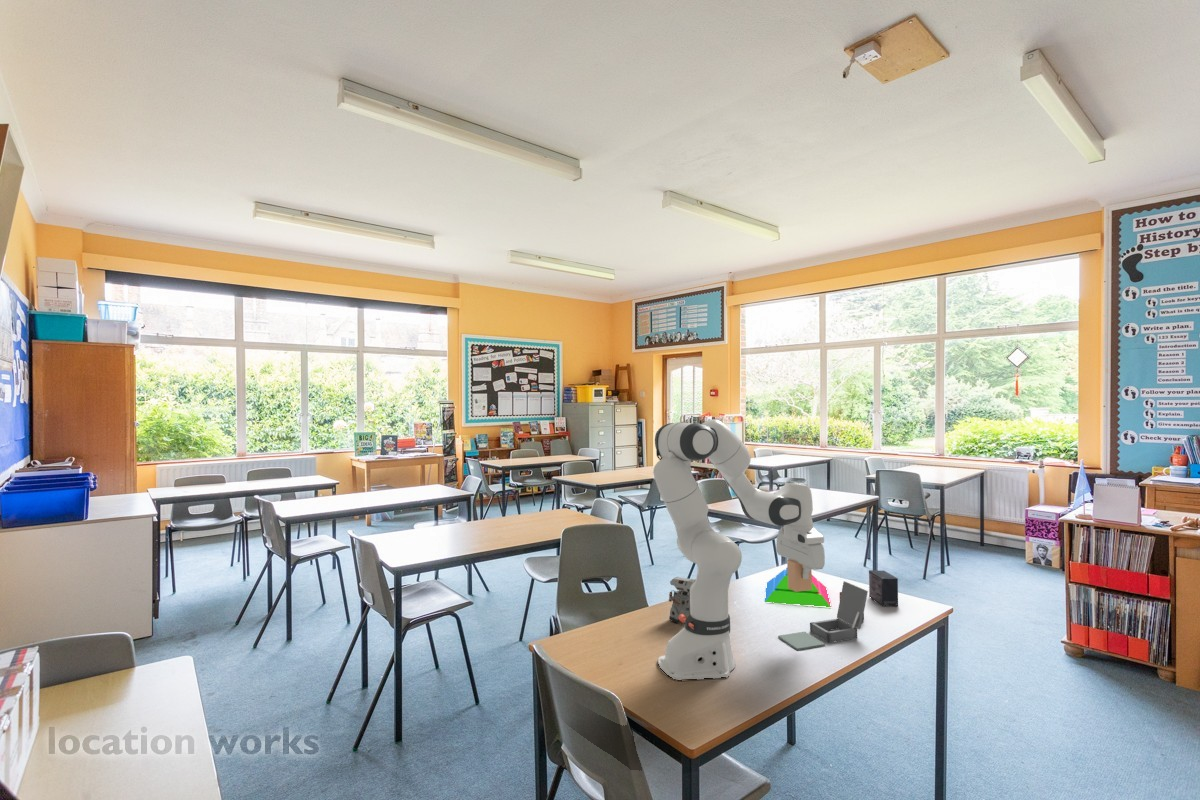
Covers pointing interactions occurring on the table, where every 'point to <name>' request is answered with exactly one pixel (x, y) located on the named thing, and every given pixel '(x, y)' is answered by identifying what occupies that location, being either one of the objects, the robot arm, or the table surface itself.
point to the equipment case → (843, 616)
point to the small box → (883, 588)
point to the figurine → (680, 598)
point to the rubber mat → (801, 640)
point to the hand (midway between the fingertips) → (799, 576)
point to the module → (797, 577)
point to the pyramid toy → (782, 594)
